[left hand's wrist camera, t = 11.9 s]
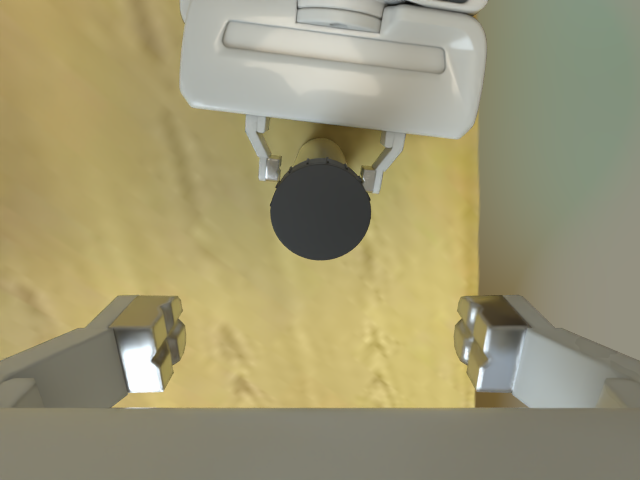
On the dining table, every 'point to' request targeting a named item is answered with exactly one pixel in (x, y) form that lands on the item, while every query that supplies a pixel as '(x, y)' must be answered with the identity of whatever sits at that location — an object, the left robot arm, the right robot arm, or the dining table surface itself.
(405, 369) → the dining table surface
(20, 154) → the dining table surface
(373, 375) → the dining table surface
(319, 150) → the jar
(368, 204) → the lid
